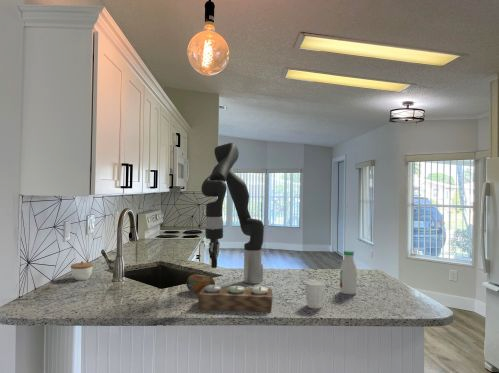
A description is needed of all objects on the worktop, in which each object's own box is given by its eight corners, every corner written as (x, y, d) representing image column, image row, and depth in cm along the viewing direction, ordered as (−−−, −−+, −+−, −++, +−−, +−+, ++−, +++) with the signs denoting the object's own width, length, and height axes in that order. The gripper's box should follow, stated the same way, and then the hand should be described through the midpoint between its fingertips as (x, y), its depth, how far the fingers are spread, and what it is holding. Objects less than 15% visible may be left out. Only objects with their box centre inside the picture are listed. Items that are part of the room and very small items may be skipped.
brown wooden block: (272, 302, 160) (272, 288, 160) (271, 311, 148) (271, 297, 148) (204, 299, 163) (204, 286, 163) (198, 308, 151) (198, 294, 151)
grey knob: (222, 297, 159) (222, 284, 159) (219, 301, 153) (219, 289, 153) (207, 296, 160) (207, 284, 160) (203, 301, 153) (204, 288, 153)
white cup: (320, 310, 150) (320, 286, 150) (302, 307, 154) (302, 283, 154) (327, 305, 157) (327, 282, 157) (309, 302, 161) (310, 279, 161)
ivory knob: (268, 298, 157) (268, 286, 157) (267, 303, 151) (267, 290, 151) (252, 298, 158) (252, 285, 158) (251, 303, 151) (251, 290, 151)
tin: (185, 291, 175) (186, 273, 175) (189, 289, 178) (190, 272, 178) (212, 296, 168) (212, 277, 168) (215, 294, 171) (216, 276, 171)
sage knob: (244, 298, 158) (245, 285, 158) (243, 302, 152) (243, 290, 152) (229, 297, 159) (229, 285, 159) (227, 302, 152) (227, 289, 152)
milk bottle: (359, 292, 176) (359, 251, 176) (351, 296, 170) (352, 253, 170) (344, 289, 181) (345, 249, 181) (336, 292, 176) (337, 251, 176)
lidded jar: (87, 281, 190) (87, 263, 190) (66, 281, 191) (66, 263, 191) (96, 276, 201) (96, 259, 201) (76, 276, 201) (76, 259, 201)
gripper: (208, 225, 163) (208, 263, 163) (202, 228, 150) (202, 271, 150) (225, 225, 162) (225, 264, 162) (220, 229, 149) (220, 271, 149)
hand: (214, 267), depth 156 cm, fingers closed
